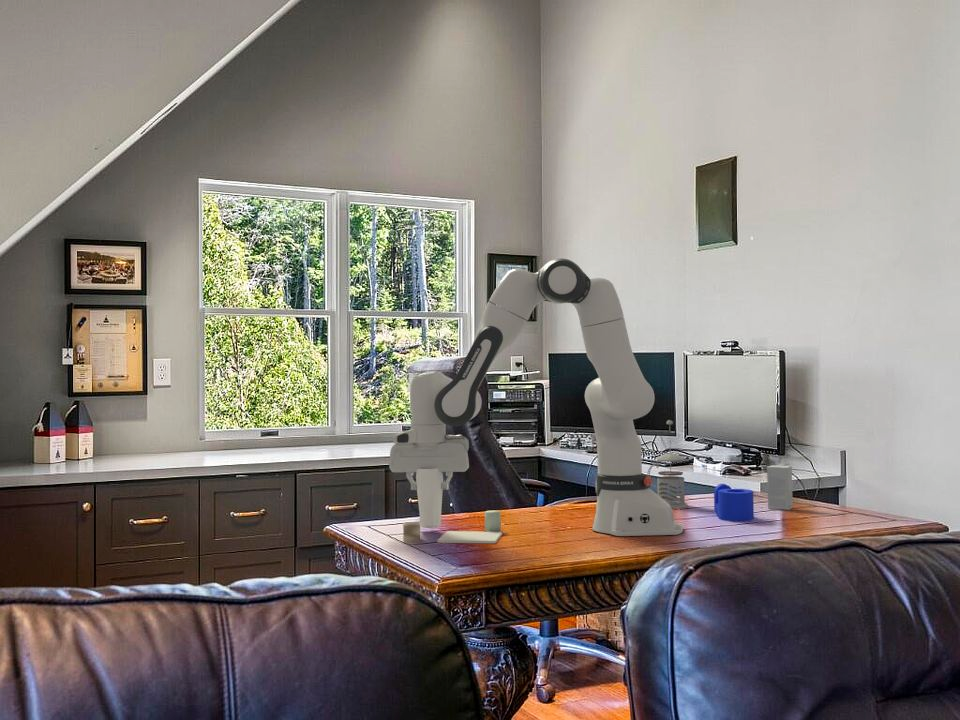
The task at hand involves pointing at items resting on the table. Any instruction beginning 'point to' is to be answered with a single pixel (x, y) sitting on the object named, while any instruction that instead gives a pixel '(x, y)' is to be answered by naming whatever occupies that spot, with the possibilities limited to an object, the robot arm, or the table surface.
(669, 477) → the french press
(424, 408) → the robot arm
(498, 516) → the sage cylinder
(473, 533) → the cream mat
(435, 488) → the drinking glass
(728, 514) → the bracket
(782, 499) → the skincare box
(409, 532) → the ash block
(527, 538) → the table surface
